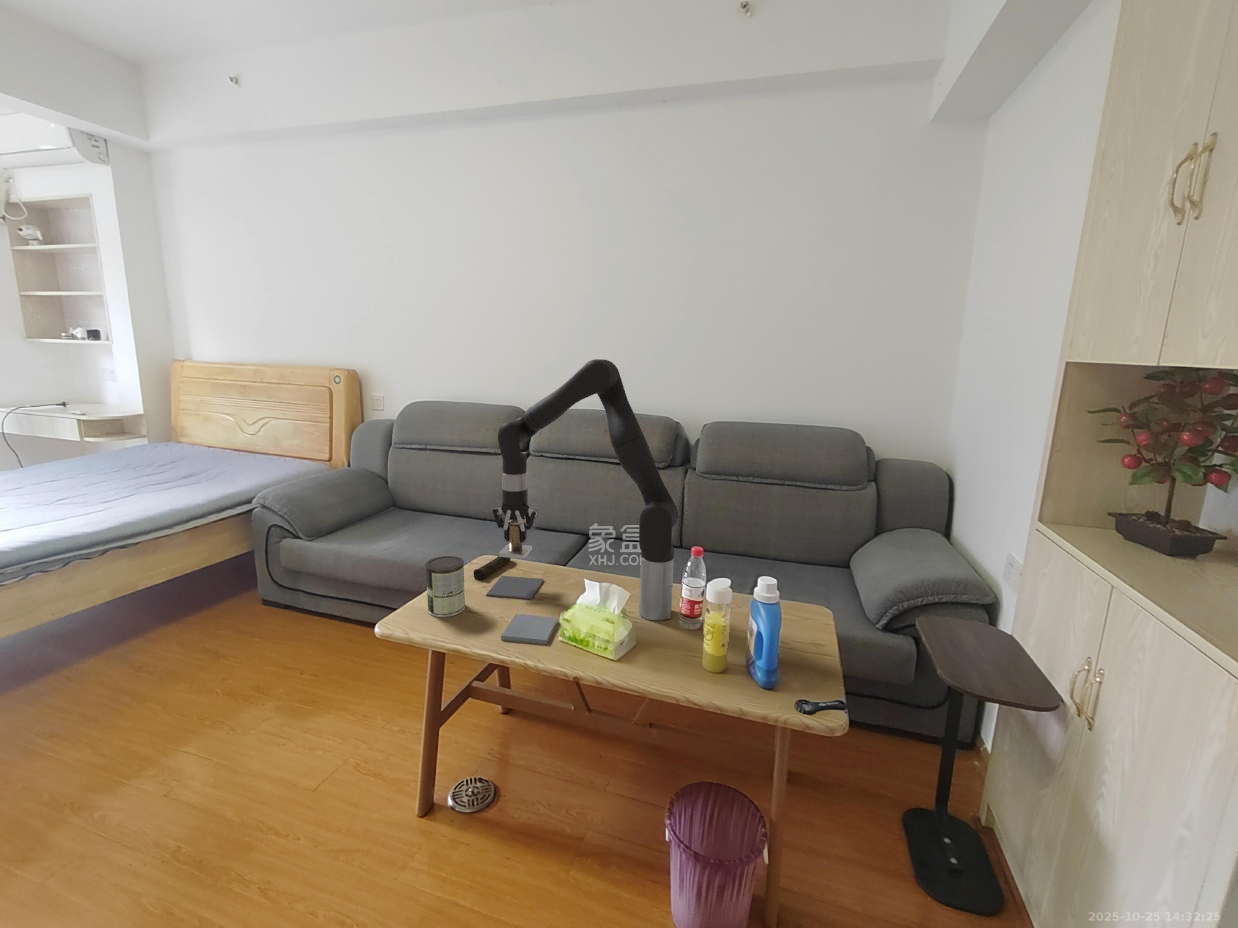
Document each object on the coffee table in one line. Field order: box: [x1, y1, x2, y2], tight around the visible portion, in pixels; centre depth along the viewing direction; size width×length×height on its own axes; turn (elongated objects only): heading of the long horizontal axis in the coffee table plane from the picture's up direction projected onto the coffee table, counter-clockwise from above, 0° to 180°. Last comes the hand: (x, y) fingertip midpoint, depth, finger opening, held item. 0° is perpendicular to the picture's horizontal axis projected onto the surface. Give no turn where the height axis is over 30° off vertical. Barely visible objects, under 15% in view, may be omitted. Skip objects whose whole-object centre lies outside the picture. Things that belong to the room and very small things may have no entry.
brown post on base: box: [498, 521, 533, 559], centre depth 170 cm, size 8×8×9 cm
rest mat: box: [485, 575, 545, 601], centre depth 173 cm, size 14×14×1 cm
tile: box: [500, 613, 559, 645], centre depth 147 cm, size 12×2×12 cm
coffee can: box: [424, 555, 466, 618], centre depth 157 cm, size 10×10×14 cm
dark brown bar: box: [473, 553, 512, 581], centre depth 186 cm, size 19×4×5 cm, turn 156°
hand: (515, 541), depth 170 cm, fingers closed on brown post on base, 4 cm apart
